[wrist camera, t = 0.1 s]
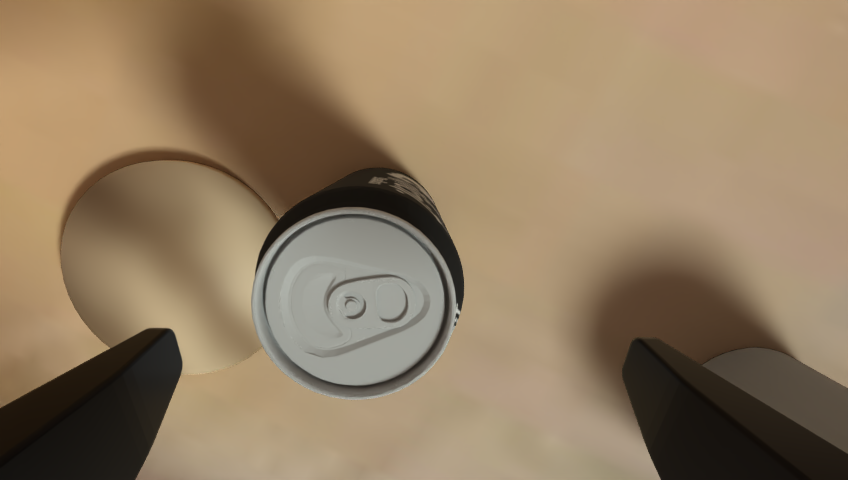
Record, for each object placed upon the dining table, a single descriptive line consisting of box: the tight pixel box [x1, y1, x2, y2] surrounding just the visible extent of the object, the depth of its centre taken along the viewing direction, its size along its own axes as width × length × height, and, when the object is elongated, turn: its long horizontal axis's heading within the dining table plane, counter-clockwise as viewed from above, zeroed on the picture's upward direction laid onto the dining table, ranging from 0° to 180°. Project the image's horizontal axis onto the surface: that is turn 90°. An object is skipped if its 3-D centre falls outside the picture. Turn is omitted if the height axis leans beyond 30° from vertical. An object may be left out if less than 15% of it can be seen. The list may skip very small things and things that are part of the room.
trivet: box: [61, 160, 279, 375], centre depth 23 cm, size 12×12×1 cm
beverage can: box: [251, 168, 464, 400], centre depth 18 cm, size 7×7×12 cm
